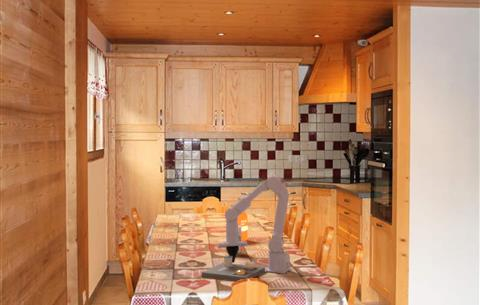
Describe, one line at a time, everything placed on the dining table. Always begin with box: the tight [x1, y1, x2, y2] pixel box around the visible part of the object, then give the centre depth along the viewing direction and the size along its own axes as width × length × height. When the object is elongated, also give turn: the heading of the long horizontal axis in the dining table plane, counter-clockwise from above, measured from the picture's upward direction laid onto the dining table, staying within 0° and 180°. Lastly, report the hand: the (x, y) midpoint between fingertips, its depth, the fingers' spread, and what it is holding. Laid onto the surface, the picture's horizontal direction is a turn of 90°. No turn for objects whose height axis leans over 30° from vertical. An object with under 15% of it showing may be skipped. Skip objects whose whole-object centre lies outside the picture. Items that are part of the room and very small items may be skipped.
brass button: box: [236, 270, 245, 276], centre depth 246 cm, size 4×4×3 cm
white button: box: [245, 261, 256, 270], centre depth 255 cm, size 4×4×3 cm
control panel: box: [201, 262, 266, 282], centre depth 253 cm, size 22×20×2 cm
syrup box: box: [226, 226, 243, 255], centre depth 296 cm, size 6×6×14 cm
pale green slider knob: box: [223, 255, 233, 267], centre depth 259 cm, size 3×2×5 cm, turn 63°
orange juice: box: [238, 210, 249, 241], centre depth 331 cm, size 8×9×20 cm
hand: (232, 262), depth 262 cm, fingers closed
